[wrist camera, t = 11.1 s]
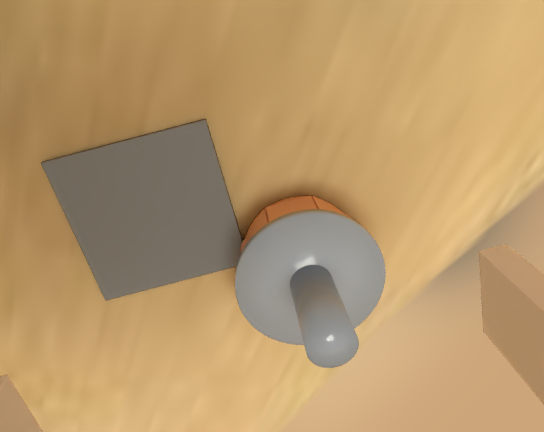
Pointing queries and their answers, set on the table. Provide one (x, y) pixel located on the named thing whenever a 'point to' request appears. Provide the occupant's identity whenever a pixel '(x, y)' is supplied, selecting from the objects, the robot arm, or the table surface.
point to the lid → (311, 282)
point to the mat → (149, 209)
